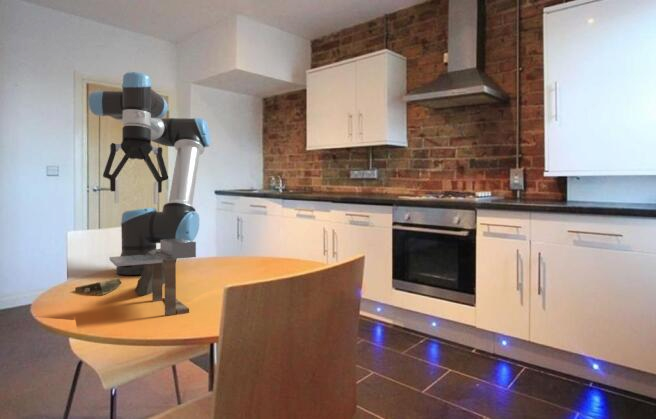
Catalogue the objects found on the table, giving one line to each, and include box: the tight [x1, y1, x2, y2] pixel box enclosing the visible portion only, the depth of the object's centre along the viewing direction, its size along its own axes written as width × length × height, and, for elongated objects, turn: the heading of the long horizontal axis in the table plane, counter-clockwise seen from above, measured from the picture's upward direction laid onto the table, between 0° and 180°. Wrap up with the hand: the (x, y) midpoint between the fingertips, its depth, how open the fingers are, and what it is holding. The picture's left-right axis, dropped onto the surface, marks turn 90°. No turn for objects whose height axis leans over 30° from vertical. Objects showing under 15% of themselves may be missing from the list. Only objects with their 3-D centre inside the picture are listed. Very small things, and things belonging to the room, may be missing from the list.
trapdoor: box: [109, 239, 197, 267], centre depth 106 cm, size 13×19×5 cm
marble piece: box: [134, 248, 178, 297], centre depth 123 cm, size 17×15×4 cm
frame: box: [151, 253, 190, 317], centre depth 109 cm, size 16×6×14 cm, turn 34°
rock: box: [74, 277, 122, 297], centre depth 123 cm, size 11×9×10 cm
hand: (136, 203), depth 117 cm, fingers open, 10 cm apart
